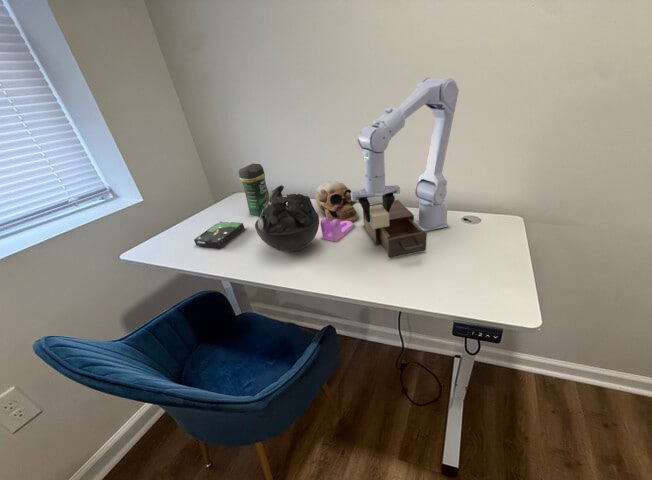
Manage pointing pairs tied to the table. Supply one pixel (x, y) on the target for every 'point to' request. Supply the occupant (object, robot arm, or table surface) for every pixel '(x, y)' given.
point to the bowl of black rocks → (287, 221)
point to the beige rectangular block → (378, 217)
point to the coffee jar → (254, 187)
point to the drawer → (402, 238)
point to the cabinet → (395, 213)
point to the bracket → (334, 228)
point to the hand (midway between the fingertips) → (376, 219)
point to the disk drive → (219, 234)
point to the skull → (336, 201)
